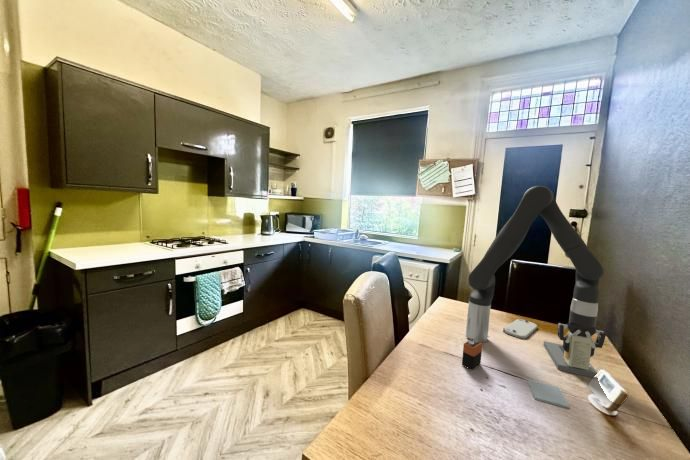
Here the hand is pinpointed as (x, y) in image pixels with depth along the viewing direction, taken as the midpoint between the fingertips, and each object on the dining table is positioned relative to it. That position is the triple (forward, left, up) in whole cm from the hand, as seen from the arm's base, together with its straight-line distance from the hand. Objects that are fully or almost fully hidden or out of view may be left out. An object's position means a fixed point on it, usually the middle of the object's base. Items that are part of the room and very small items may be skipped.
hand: (577, 353), depth 102 cm
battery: (-37, -14, -8) cm, 40 cm away
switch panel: (0, +9, -7) cm, 12 cm away
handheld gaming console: (-12, +32, -8) cm, 35 cm away
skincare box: (0, 0, -5) cm, 5 cm away
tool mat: (-14, -20, -7) cm, 26 cm away
